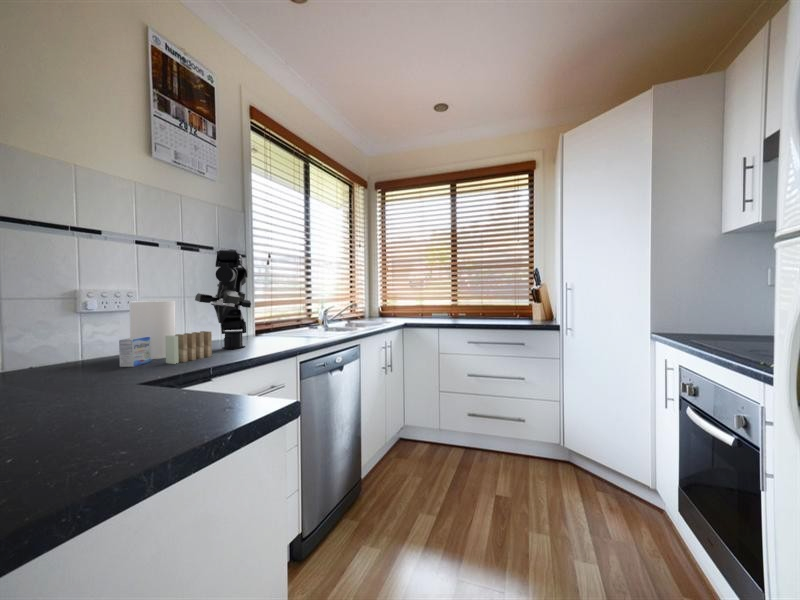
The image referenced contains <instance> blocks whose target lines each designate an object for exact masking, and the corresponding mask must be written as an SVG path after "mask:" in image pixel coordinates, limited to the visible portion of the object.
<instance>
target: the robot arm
mask: <svg viewBox="0 0 800 600" xmlns="http://www.w3.org/2000/svg"><path fill="white" fill-rule="evenodd" d="M215 267H216V268H217V269H216V271H215V277H216V280H218V281H219V282H218V283H217V292H216V294H215V296H213V295H210V294H205V293H199V292H198V293H197V294H196V295H195V297H194V298H195V299H194V301H196V302H199V303H203V304H205V303H206V304H207V303H208V304H210V305H211V306H213V308H214V310H215V313H216V317H217V321H218V323H219V324H220V330H221V331H220V332H221V335H224V337H223V343H224V344H223V346H222V347H221V349H225V350H237V349H242V348H246V345H243V334H247V323H246V321H245V318H244V317H243V312H242V310H241V306H242V308H248V309H249V308H251V307H252V302H251V301H250V300H248V299H245V298H246V293H245V292H243V291H242V288H243V286H244V285H245V283H246V282H247V278H248V277H249V271H248V265H247V263H246V262H245V261H244V260H243V257H242V255H241V254H240V253H239V252H238V250H236V249H235V250H233V249H231V250H230V249H229V250H228V249H219V250H218V252H216V259H215Z"/></svg>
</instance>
